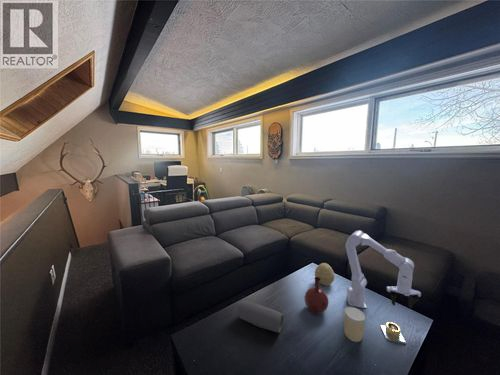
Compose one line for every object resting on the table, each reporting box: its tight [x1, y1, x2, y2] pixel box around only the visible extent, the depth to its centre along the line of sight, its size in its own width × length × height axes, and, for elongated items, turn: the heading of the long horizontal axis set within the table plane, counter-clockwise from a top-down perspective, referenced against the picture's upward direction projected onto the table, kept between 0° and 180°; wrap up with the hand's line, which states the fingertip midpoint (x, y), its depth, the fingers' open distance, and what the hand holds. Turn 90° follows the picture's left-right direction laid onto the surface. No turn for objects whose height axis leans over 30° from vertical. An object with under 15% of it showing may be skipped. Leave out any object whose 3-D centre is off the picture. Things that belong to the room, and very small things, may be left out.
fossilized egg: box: [314, 262, 335, 286], centre depth 137 cm, size 13×13×15 cm
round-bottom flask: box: [304, 277, 330, 314], centre depth 113 cm, size 13×13×20 cm
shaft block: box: [379, 324, 407, 345], centre depth 98 cm, size 8×8×4 cm
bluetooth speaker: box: [237, 300, 284, 334], centre depth 104 cm, size 23×9×10 cm, turn 65°
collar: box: [385, 321, 401, 338], centre depth 98 cm, size 5×5×4 cm
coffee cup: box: [343, 306, 367, 343], centre depth 97 cm, size 9×9×12 cm
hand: (401, 305), depth 104 cm, fingers open, 7 cm apart
